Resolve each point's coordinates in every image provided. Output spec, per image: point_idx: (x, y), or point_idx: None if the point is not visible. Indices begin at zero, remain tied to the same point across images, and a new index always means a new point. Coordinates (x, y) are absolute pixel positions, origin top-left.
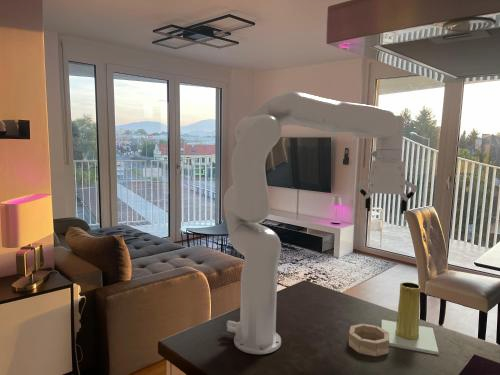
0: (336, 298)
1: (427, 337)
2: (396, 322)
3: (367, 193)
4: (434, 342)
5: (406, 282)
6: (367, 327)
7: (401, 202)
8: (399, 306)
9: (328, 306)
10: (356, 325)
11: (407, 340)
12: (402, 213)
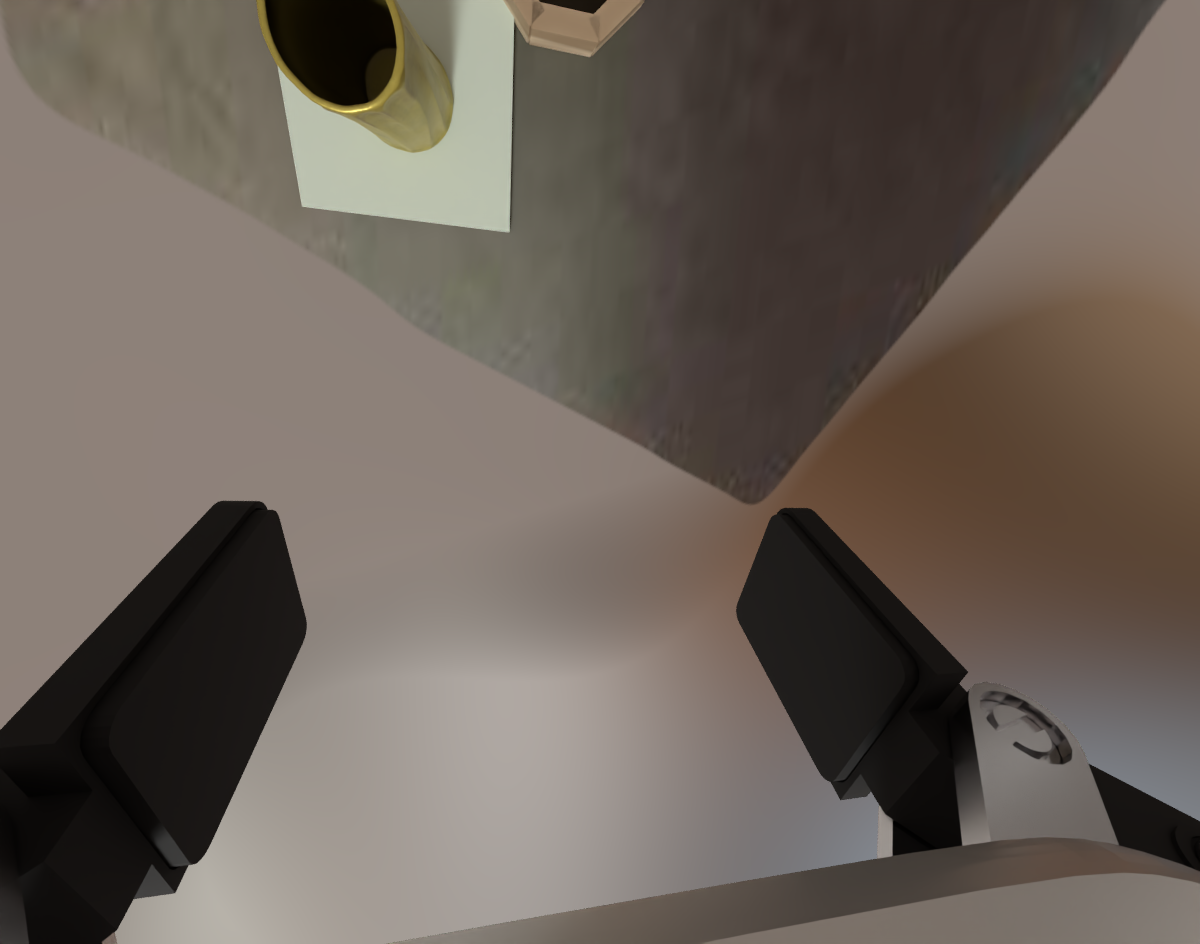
0: (665, 404)
1: None
2: (451, 219)
3: (1100, 813)
4: None
5: (365, 104)
6: (577, 12)
7: (191, 764)
8: (423, 50)
9: (699, 322)
10: (627, 5)
11: None
12: (241, 502)
